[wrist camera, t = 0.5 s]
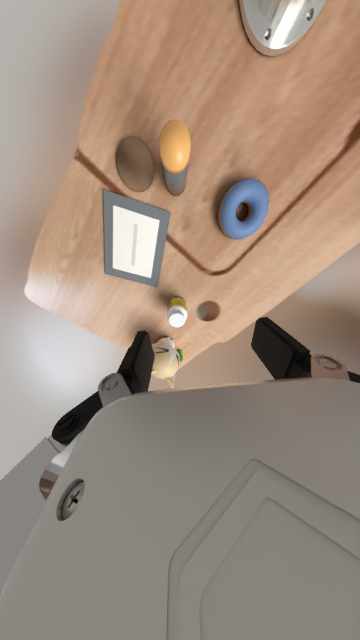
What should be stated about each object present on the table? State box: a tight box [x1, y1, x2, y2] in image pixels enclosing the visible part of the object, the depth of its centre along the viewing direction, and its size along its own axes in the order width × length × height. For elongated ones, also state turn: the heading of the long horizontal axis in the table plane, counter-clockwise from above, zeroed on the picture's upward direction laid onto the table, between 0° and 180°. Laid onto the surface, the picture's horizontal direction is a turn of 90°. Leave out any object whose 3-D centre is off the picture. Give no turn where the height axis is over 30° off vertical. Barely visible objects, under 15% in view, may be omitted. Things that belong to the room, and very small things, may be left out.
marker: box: [159, 120, 191, 196], centre depth 21 cm, size 4×4×11 cm
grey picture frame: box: [103, 189, 170, 287], centre depth 31 cm, size 17×14×1 cm
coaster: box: [116, 137, 154, 192], centre depth 25 cm, size 7×7×1 cm
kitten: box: [151, 337, 183, 388], centre depth 41 cm, size 15×10×15 cm, turn 49°
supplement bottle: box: [167, 297, 187, 327], centre depth 35 cm, size 5×5×10 cm
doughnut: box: [218, 178, 269, 240], centre depth 27 cm, size 10×10×5 cm
